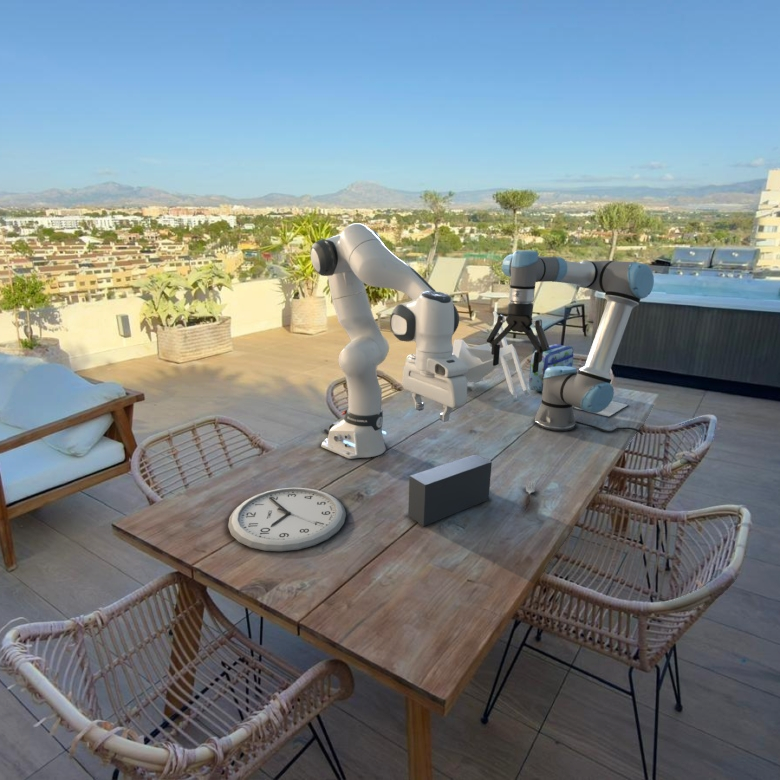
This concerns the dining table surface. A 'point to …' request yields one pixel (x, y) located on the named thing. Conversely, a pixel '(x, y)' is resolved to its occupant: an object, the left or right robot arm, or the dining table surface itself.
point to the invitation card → (610, 408)
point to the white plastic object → (488, 361)
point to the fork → (529, 490)
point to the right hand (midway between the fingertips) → (514, 368)
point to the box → (448, 489)
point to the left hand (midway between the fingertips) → (431, 415)
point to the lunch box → (550, 364)
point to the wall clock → (287, 519)
